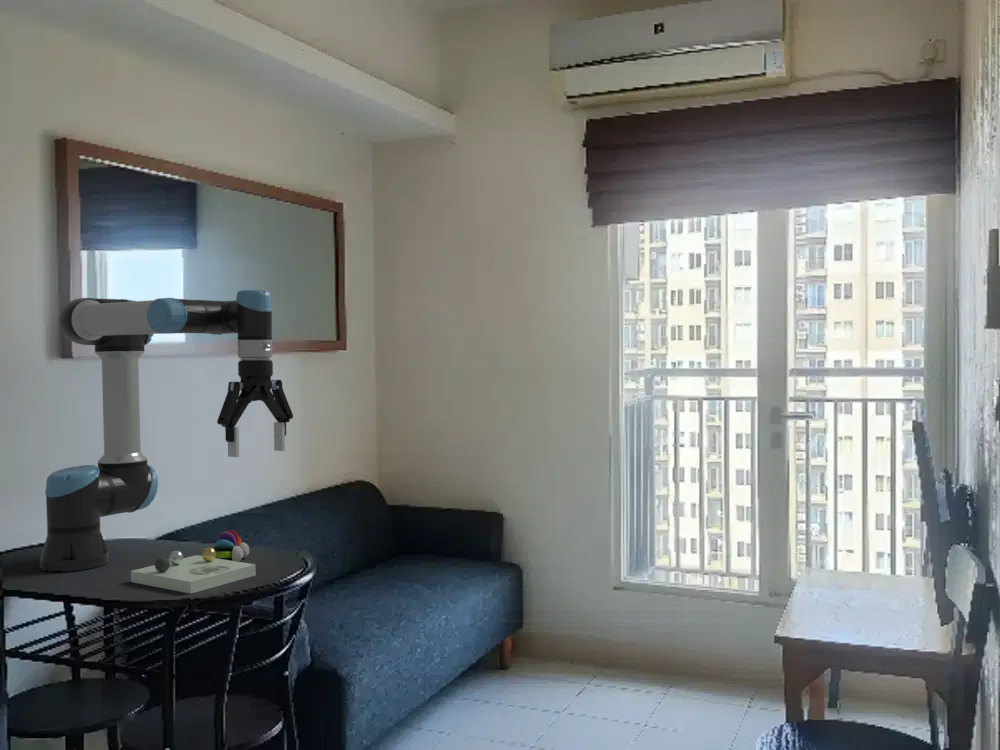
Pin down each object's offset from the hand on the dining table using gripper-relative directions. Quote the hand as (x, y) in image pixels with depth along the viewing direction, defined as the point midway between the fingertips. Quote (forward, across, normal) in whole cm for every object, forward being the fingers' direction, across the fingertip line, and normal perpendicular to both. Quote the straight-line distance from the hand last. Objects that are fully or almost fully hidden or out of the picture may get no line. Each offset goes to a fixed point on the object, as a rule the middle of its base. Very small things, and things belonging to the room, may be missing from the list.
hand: (257, 453), depth 206 cm
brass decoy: (+24, -2, +14) cm, 28 cm away
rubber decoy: (+24, -14, +15) cm, 32 cm away
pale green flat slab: (+28, -8, +12) cm, 32 cm away
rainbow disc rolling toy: (+28, +8, +20) cm, 36 cm away
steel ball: (+24, -8, +18) cm, 31 cm away
